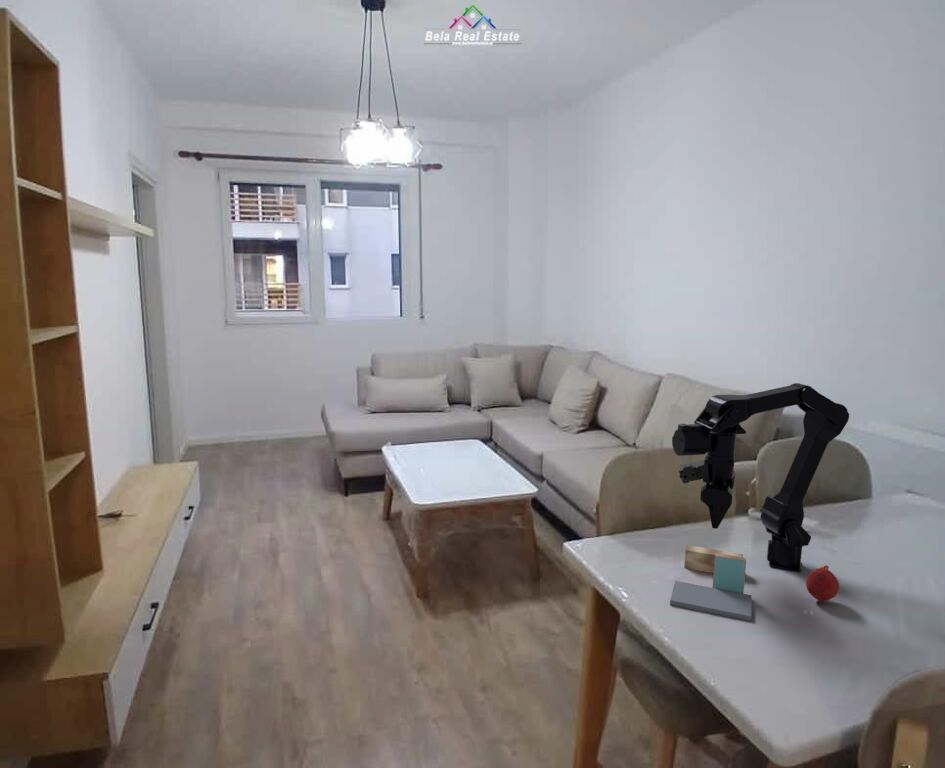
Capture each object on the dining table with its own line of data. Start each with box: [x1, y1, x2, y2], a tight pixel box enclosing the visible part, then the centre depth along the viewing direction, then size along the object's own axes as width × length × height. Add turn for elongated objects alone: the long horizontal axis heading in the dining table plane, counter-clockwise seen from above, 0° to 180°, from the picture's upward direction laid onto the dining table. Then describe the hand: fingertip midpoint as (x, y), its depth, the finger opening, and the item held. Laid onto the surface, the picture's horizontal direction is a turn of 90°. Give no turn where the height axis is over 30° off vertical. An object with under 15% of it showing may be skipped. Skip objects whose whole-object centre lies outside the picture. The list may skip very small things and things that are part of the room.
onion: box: [805, 564, 840, 603], centre depth 128 cm, size 6×6×8 cm
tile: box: [712, 553, 747, 594], centre depth 131 cm, size 6×2×8 cm, turn 66°
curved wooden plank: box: [684, 544, 744, 574], centre depth 142 cm, size 12×3×4 cm, turn 66°
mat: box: [669, 580, 753, 622], centre depth 128 cm, size 15×9×1 cm, turn 66°
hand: (716, 520), depth 140 cm, fingers open, 9 cm apart
